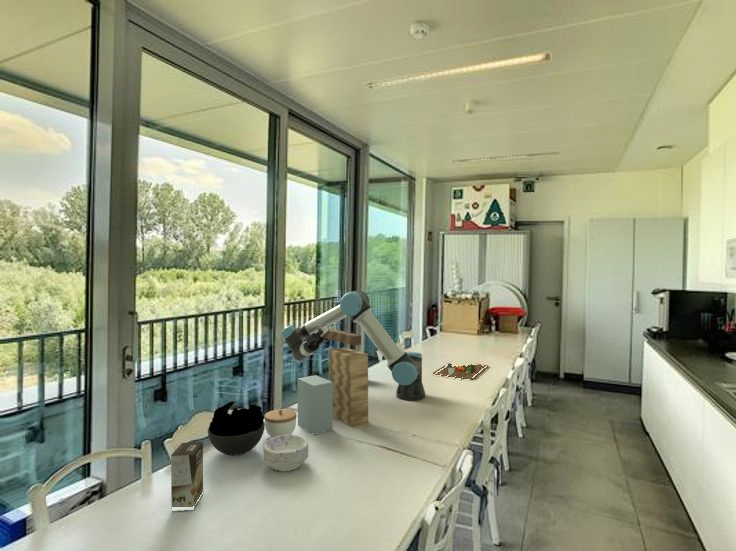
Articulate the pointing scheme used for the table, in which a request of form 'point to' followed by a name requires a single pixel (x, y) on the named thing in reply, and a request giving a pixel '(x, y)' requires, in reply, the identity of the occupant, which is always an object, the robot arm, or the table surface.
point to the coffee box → (187, 474)
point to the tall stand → (349, 385)
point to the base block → (315, 404)
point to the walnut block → (342, 336)
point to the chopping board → (461, 371)
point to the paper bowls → (285, 452)
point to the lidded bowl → (280, 422)
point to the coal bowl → (236, 429)
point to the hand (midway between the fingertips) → (331, 328)
